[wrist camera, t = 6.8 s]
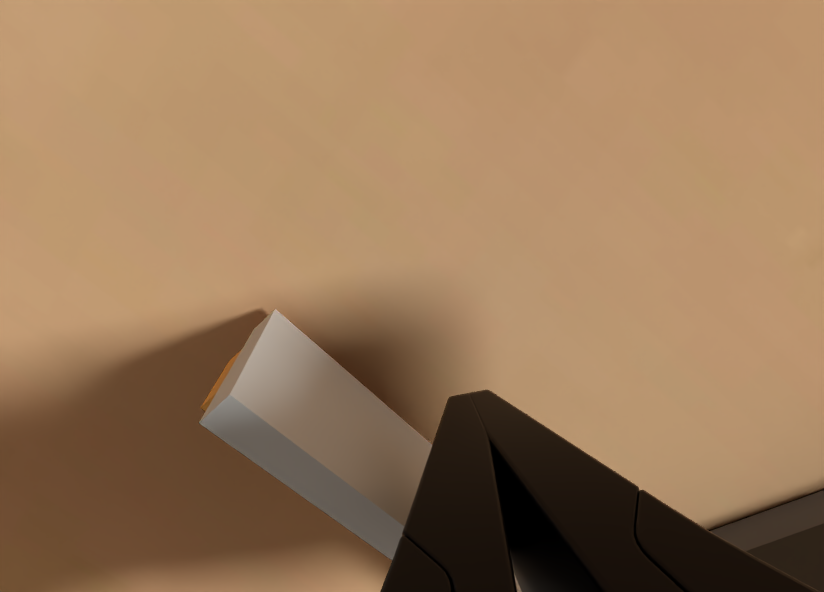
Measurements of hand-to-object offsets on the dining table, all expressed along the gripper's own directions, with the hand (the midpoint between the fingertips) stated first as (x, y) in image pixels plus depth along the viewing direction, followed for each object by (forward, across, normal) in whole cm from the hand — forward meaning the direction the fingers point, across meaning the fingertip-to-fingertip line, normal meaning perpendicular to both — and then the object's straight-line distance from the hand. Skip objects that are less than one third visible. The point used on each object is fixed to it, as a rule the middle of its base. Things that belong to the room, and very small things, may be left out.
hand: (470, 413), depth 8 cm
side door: (+1, +1, +2) cm, 3 cm away
